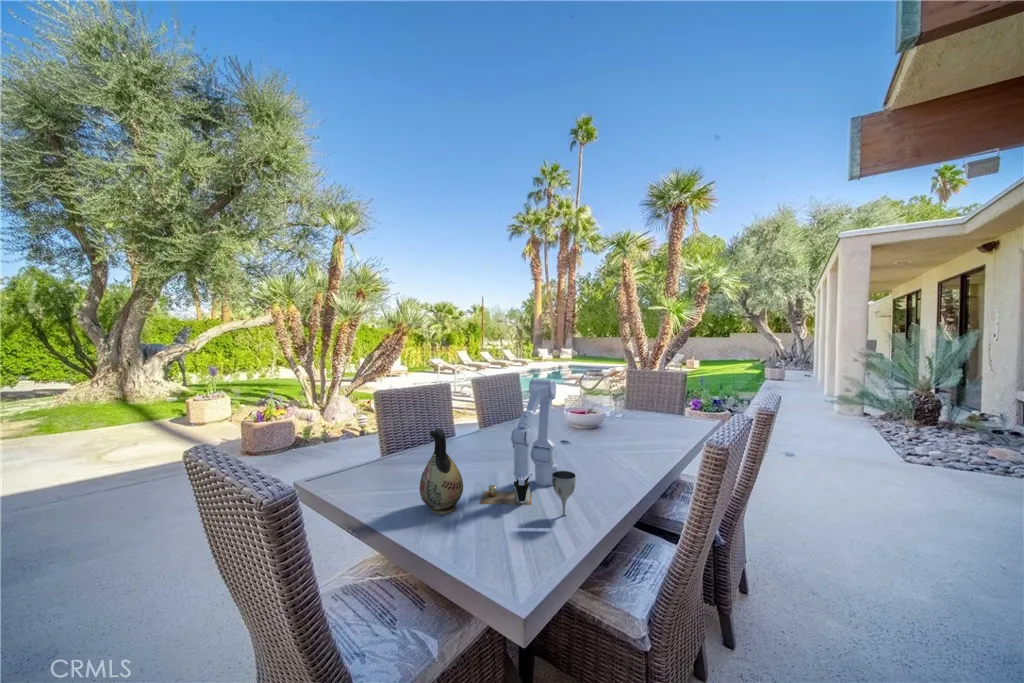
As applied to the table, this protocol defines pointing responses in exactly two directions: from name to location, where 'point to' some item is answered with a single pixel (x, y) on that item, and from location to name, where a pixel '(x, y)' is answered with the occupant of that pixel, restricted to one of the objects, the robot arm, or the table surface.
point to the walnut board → (502, 498)
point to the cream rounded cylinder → (492, 491)
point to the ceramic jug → (441, 478)
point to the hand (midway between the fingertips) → (522, 497)
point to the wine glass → (563, 486)
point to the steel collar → (525, 498)
